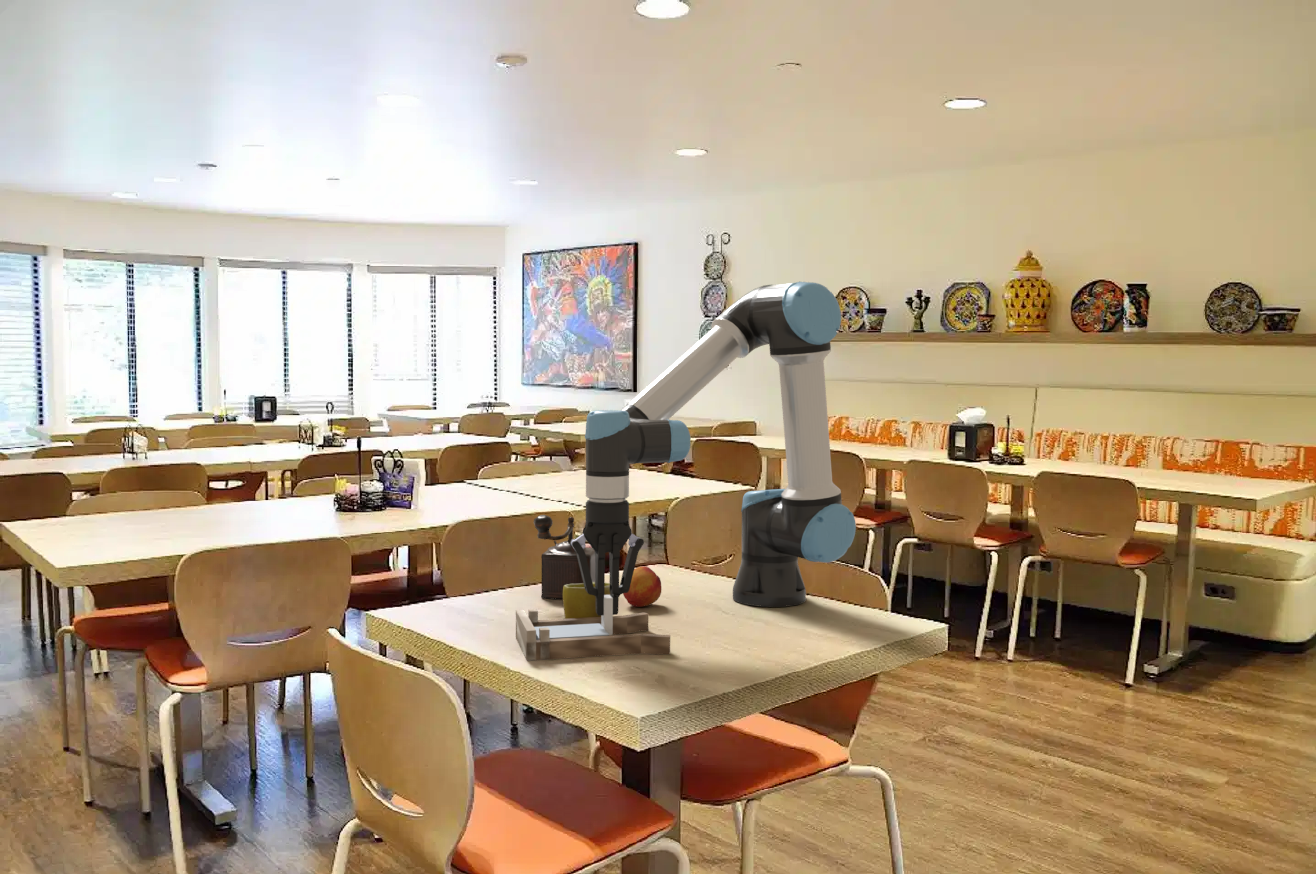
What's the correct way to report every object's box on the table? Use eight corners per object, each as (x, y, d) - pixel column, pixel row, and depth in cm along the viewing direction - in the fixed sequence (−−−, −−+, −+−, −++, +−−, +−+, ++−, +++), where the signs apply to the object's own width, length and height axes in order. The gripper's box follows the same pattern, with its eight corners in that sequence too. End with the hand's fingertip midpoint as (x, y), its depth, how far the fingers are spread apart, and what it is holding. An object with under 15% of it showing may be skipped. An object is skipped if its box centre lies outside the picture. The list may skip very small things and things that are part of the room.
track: (646, 628, 203) (646, 601, 202) (672, 654, 185) (672, 625, 185) (514, 635, 197) (514, 608, 196) (528, 663, 179) (528, 633, 179)
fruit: (666, 609, 218) (666, 570, 217) (627, 611, 216) (627, 571, 215) (657, 601, 226) (657, 562, 225) (618, 602, 224) (618, 564, 223)
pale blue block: (599, 642, 194) (599, 623, 194) (609, 654, 186) (609, 634, 186) (532, 646, 191) (532, 627, 191) (539, 659, 183) (539, 638, 183)
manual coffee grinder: (549, 588, 237) (548, 506, 236) (599, 590, 236) (599, 507, 234) (530, 604, 222) (530, 516, 221) (584, 606, 220) (584, 517, 219)
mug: (613, 626, 196) (600, 572, 198) (561, 640, 199) (548, 587, 200) (632, 623, 208) (619, 572, 210) (583, 637, 210) (570, 586, 212)
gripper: (638, 495, 195) (638, 626, 197) (566, 497, 192) (566, 630, 194) (649, 501, 188) (648, 636, 190) (574, 503, 185) (573, 640, 186)
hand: (606, 633), depth 192 cm, fingers closed
